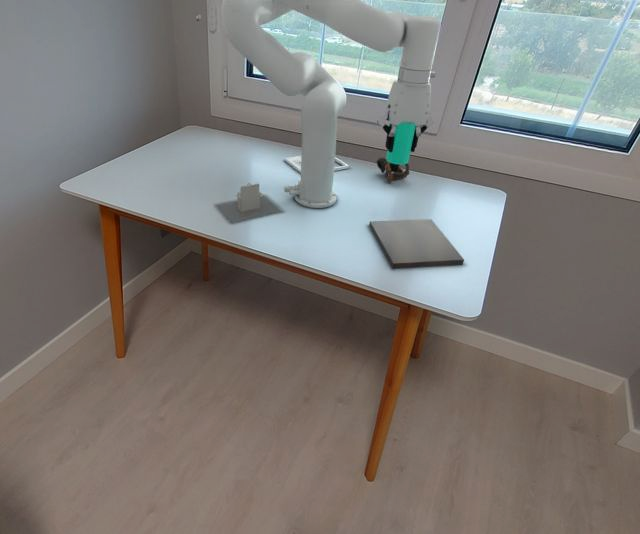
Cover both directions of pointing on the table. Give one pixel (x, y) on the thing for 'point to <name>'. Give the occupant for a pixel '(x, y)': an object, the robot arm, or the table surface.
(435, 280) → the table surface
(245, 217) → the architectural model
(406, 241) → the serving board
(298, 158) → the photo frame
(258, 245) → the table surface
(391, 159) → the candle
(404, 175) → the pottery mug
